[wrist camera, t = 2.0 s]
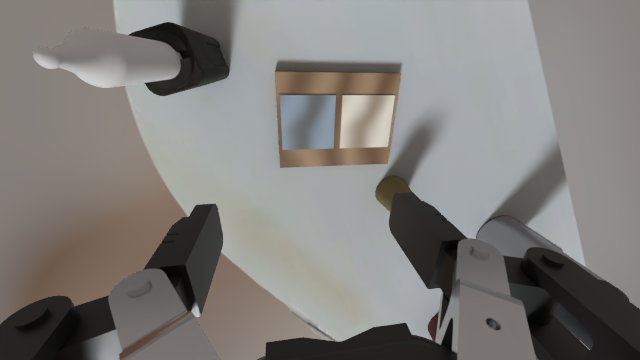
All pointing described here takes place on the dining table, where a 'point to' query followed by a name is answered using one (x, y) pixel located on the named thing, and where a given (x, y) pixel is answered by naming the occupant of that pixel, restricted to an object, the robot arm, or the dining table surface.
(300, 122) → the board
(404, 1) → the dining table surface
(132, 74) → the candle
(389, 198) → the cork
